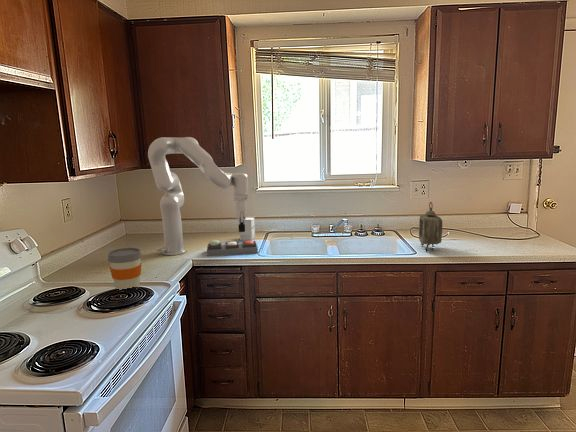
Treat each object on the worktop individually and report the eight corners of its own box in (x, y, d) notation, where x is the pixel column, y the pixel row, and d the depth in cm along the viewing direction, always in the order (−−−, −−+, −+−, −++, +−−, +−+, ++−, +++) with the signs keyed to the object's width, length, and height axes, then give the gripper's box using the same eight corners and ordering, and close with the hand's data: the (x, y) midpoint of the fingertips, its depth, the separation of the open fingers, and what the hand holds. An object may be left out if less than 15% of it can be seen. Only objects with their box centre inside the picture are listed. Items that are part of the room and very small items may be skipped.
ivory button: (227, 248, 211) (227, 244, 211) (227, 245, 216) (227, 241, 216) (237, 247, 212) (236, 243, 212) (236, 244, 217) (236, 241, 216)
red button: (244, 246, 213) (244, 243, 212) (244, 244, 217) (244, 240, 217) (254, 246, 213) (254, 242, 213) (253, 243, 218) (253, 240, 218)
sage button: (209, 246, 209) (209, 242, 209) (209, 244, 214) (209, 240, 214) (219, 246, 210) (219, 242, 210) (219, 243, 215) (219, 239, 215)
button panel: (207, 256, 208) (206, 247, 207) (207, 250, 217) (207, 242, 216) (257, 252, 212) (257, 244, 211) (256, 247, 221) (255, 239, 221)
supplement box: (251, 241, 236) (251, 219, 234) (239, 240, 238) (238, 219, 235) (255, 238, 243) (254, 217, 241) (243, 237, 245) (242, 217, 243)
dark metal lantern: (418, 245, 221) (420, 199, 216) (435, 245, 219) (438, 199, 215) (422, 252, 207) (425, 204, 202) (441, 253, 205) (444, 204, 201)
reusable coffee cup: (133, 293, 159) (130, 256, 156) (104, 292, 161) (100, 255, 158) (149, 282, 171) (146, 248, 168) (122, 281, 173) (119, 247, 171)
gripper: (233, 195, 216) (234, 228, 220) (234, 199, 202) (235, 235, 206) (247, 194, 218) (248, 228, 221) (249, 199, 203) (250, 234, 207)
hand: (241, 231), depth 213 cm, fingers closed
